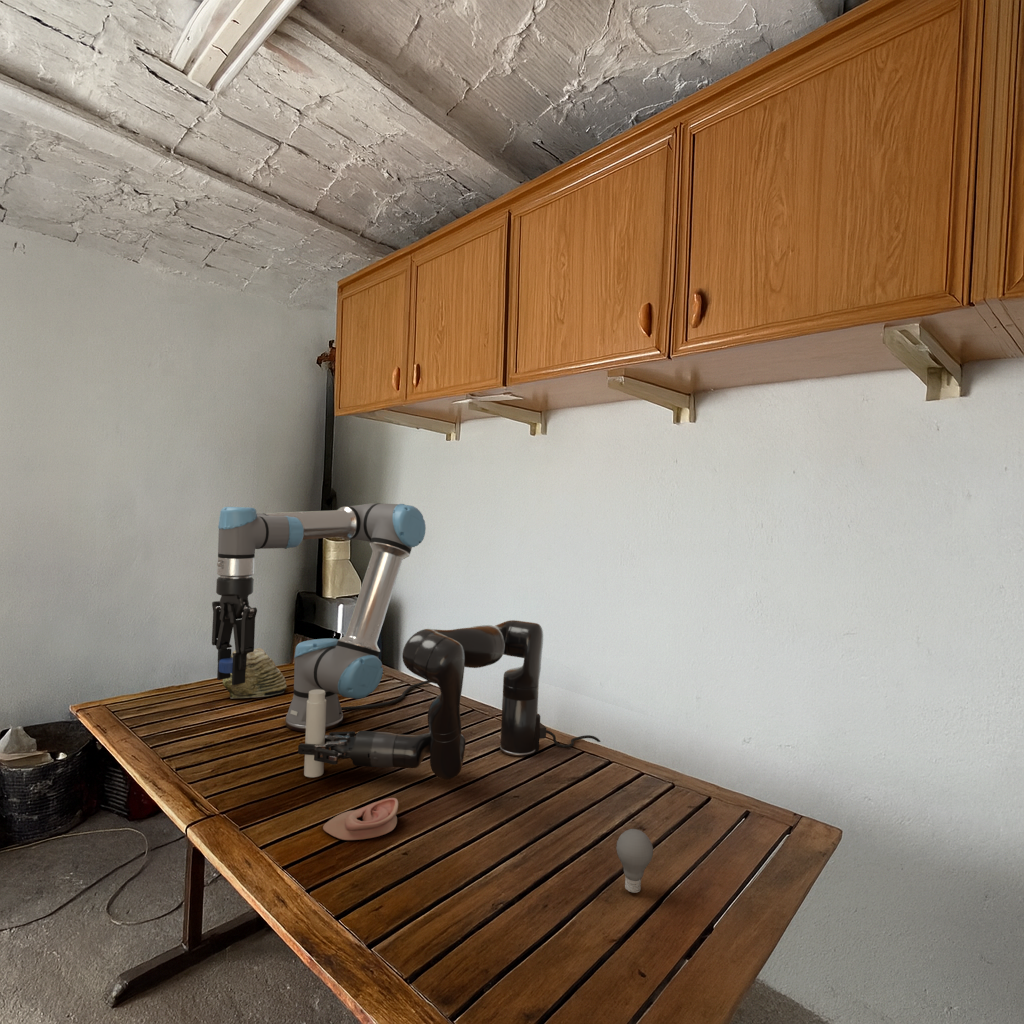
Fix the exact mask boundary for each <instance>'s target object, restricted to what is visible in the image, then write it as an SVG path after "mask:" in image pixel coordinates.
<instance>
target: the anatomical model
mask: <svg viewBox="0 0 1024 1024" xmlns="http://www.w3.org/2000/svg"><path fill="white" fill-rule="evenodd" d="M398 809H399V801H398V799H397V798H396V797H389V798H388V797H387V798H383V799H381V800H378V801H375V802H372V803H369V804H367V805H365V806H363V807H360V808H357V809H353V810H352V809H351V810H348V811H344V812H341V813H340V814H337V815H336V816H333V818H330V819H329V820H328V821H327V822H325V823H324V824H323V826H322V830H323V831H324V832H325V833H326V834H329V835H330V836H332V837H334V838H337V839H339V840H342V841H358V840H359V841H360V840H366V839H373V838H377V837H380V836H383V835H386V834H388V833H390V832H392V831H393V830H394V829H395V828H396V826H397V824H398V817H397V813H398Z"/></svg>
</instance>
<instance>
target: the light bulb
mask: <svg viewBox="0 0 1024 1024" xmlns="http://www.w3.org/2000/svg"><path fill="white" fill-rule="evenodd" d="M615 849H616V854H617V857H618V859H619V861H620V863H621V865H622V867H623V873H624V874H623V875H624V876H625V878H624V888H625V890H627V891H628V892H630V893H634V894H635V893H639V892H640V891H641V889H642V887H641V886H642V879H643V877H644V875H645V871H646V868H647V867H648V866H649V864H650V863H651V861H652V859H653V855H654V847H653V843H652V841H651V838H649V836H648V835H647V834H646V833H645V832H643V831H642V830H641V829H636V828H629V829H627V830H625V831H623V832H622V833H621V834H620V835H619V837H618V839H617V841H616V847H615Z"/></svg>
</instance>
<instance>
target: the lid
mask: <svg viewBox="0 0 1024 1024" xmlns="http://www.w3.org/2000/svg"><path fill="white" fill-rule="evenodd" d="M232 668H233V657H232V658H224V659H221V660H220V661H219V672H221V673H232Z"/></svg>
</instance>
